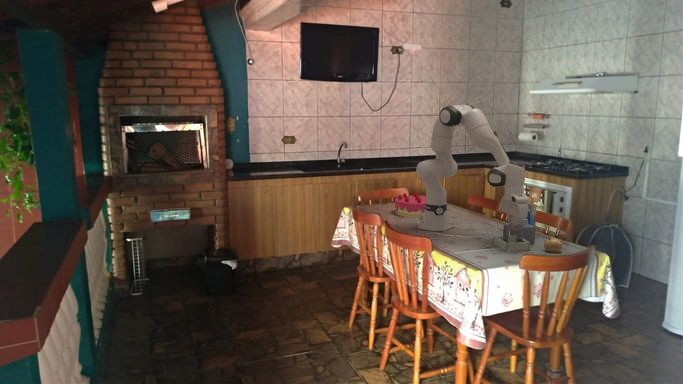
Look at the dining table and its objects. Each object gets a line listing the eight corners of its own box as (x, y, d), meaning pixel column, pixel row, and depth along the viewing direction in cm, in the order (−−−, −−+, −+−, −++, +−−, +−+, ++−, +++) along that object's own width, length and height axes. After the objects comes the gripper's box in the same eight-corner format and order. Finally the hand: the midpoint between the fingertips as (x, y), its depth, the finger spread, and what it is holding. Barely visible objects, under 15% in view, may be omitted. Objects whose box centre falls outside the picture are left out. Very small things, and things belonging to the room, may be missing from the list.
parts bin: (493, 244, 252) (494, 236, 252) (516, 243, 254) (516, 235, 254) (506, 251, 240) (506, 243, 239) (529, 250, 242) (530, 242, 241)
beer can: (513, 235, 270) (515, 205, 268) (525, 233, 274) (527, 204, 271) (525, 238, 263) (527, 208, 260) (537, 236, 266) (539, 206, 264)
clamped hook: (516, 224, 259) (518, 199, 257) (520, 224, 260) (521, 199, 257) (531, 231, 246) (532, 204, 243) (534, 231, 246) (536, 204, 244)
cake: (393, 209, 338) (393, 191, 336) (436, 209, 337) (436, 191, 335) (396, 218, 311) (396, 198, 309) (442, 219, 309) (443, 198, 307)
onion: (557, 249, 244) (558, 234, 243) (565, 253, 237) (566, 239, 235) (540, 249, 244) (541, 234, 243) (548, 254, 236) (549, 239, 235)
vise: (507, 238, 264) (508, 216, 262) (521, 237, 265) (522, 216, 263) (520, 245, 250) (521, 222, 248) (535, 244, 252) (536, 222, 250)
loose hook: (502, 245, 247) (503, 224, 246) (519, 245, 249) (521, 224, 247) (504, 246, 245) (505, 225, 244) (521, 246, 247) (523, 225, 245)
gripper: (497, 192, 252) (496, 219, 255) (518, 200, 232) (516, 229, 235) (509, 192, 253) (508, 219, 256) (531, 199, 233) (529, 228, 236)
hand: (512, 224), depth 245 cm, fingers open, 3 cm apart
